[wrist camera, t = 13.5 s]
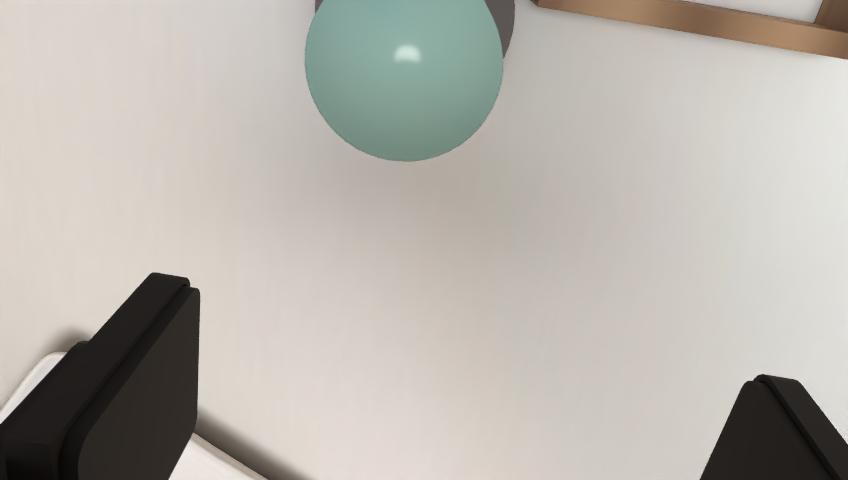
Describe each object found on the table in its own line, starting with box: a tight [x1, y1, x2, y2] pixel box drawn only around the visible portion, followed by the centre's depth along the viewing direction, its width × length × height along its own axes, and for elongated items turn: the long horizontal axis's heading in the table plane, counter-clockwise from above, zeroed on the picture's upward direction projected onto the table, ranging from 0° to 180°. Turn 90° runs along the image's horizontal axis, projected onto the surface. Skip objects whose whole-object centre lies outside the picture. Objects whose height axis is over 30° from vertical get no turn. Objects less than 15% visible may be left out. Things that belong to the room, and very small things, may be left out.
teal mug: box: [305, 0, 503, 161], centre depth 25 cm, size 8×6×11 cm
